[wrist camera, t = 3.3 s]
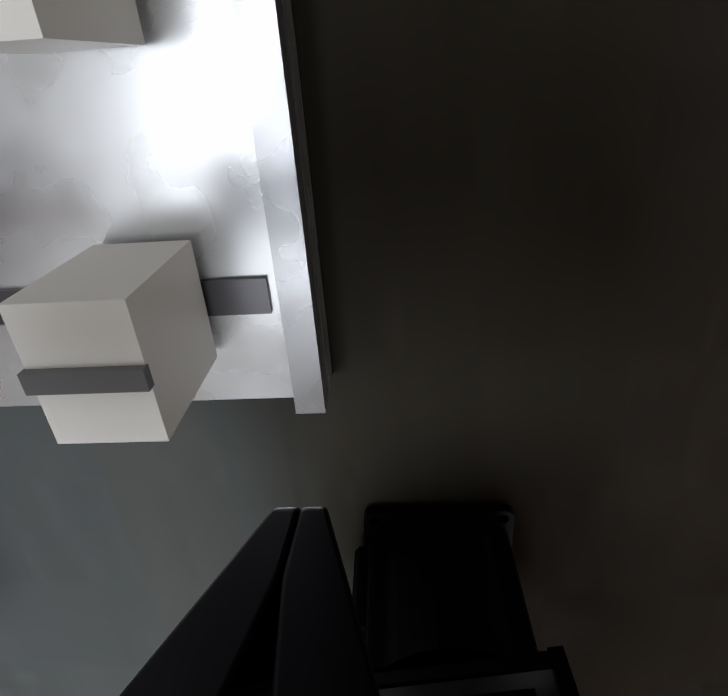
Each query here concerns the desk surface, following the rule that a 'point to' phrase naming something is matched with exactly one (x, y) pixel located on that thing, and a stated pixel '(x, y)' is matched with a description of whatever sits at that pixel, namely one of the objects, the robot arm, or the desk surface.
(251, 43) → the console
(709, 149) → the desk surface
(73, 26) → the fader
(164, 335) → the fader
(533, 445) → the desk surface
